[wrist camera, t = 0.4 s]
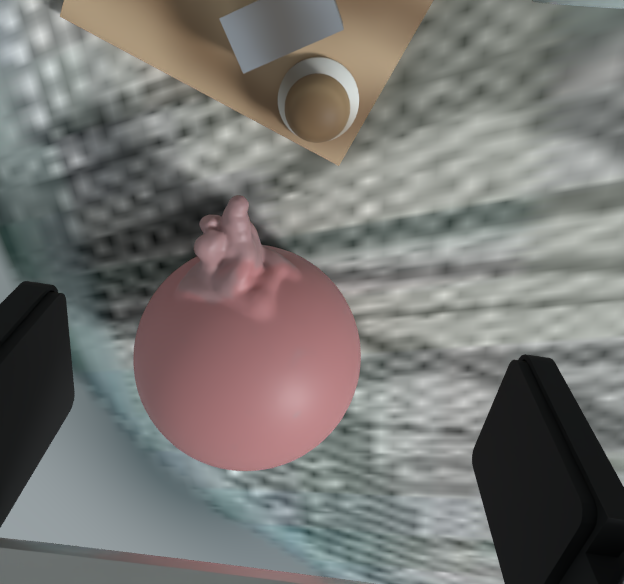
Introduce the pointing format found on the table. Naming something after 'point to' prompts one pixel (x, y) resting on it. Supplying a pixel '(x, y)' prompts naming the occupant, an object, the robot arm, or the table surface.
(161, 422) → the balloon
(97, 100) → the table surface
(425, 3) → the base
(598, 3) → the air freshener
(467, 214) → the table surface
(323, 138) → the walnut ball
